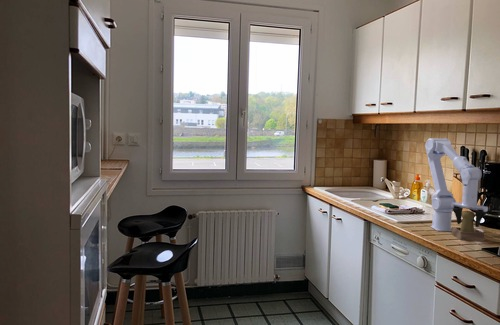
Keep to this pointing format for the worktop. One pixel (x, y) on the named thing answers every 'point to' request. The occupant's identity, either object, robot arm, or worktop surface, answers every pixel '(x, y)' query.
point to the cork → (467, 221)
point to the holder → (468, 234)
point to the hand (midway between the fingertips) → (468, 225)
